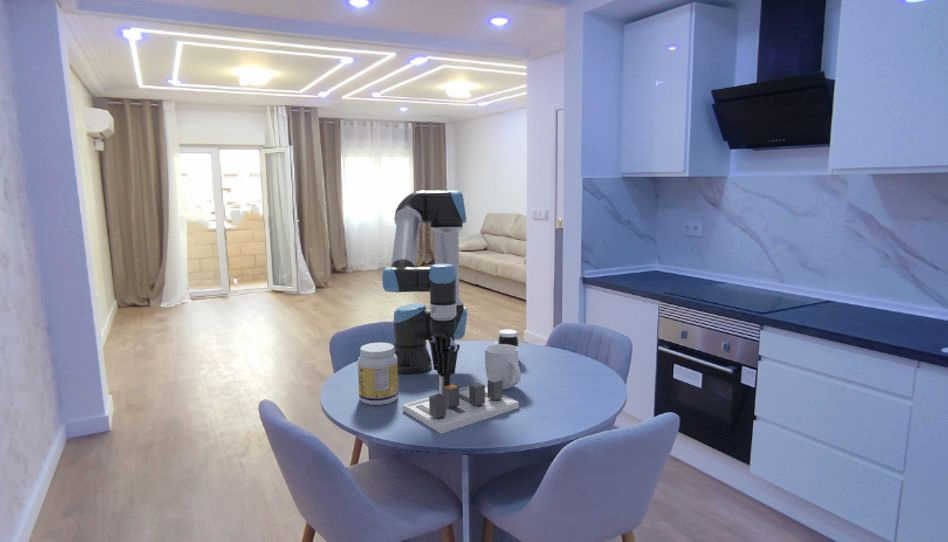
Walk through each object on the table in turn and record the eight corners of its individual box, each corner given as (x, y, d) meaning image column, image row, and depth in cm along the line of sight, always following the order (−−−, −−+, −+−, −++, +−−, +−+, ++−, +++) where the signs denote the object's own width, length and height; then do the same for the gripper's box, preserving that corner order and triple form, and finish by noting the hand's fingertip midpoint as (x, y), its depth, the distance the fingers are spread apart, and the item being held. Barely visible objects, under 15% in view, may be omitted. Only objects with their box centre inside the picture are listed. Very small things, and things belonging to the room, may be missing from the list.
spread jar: (519, 365, 204) (519, 335, 203) (488, 365, 205) (488, 335, 203) (517, 355, 216) (517, 327, 215) (488, 355, 216) (488, 327, 215)
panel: (403, 410, 163) (402, 403, 163) (477, 389, 180) (477, 383, 180) (441, 433, 147) (441, 426, 147) (518, 408, 164) (518, 401, 164)
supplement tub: (355, 395, 176) (353, 344, 173) (392, 389, 180) (391, 339, 178) (363, 409, 165) (361, 354, 162) (403, 402, 169) (401, 349, 167)
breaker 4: (487, 397, 166) (487, 379, 166) (496, 394, 168) (496, 377, 168) (494, 400, 164) (494, 382, 163) (502, 397, 166) (502, 380, 165)
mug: (532, 391, 178) (532, 352, 176) (505, 398, 172) (505, 358, 170) (505, 378, 190) (505, 342, 188) (478, 384, 184) (478, 347, 182)
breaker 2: (443, 405, 160) (443, 386, 160) (453, 402, 163) (453, 383, 162) (449, 408, 158) (449, 389, 157) (459, 405, 160) (459, 386, 159)
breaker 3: (469, 402, 162) (469, 385, 161) (478, 400, 164) (478, 382, 163) (475, 406, 160) (475, 387, 159) (484, 403, 162) (484, 385, 161)
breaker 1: (429, 415, 154) (429, 396, 153) (439, 411, 156) (439, 393, 155) (435, 418, 151) (435, 399, 150) (446, 415, 153) (445, 396, 153)
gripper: (420, 315, 162) (421, 392, 165) (445, 323, 152) (446, 405, 155) (441, 312, 166) (442, 386, 170) (467, 319, 156) (467, 399, 159)
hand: (444, 395), depth 162 cm, fingers closed
